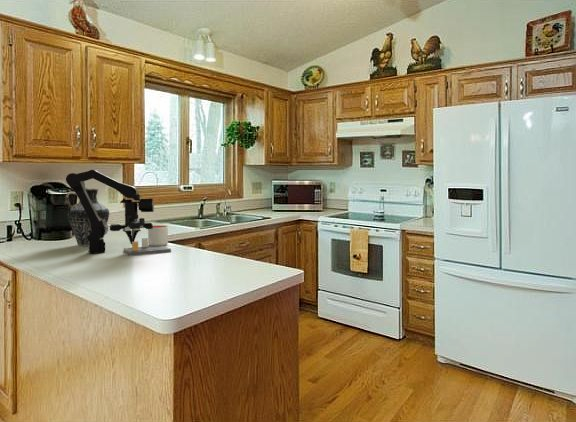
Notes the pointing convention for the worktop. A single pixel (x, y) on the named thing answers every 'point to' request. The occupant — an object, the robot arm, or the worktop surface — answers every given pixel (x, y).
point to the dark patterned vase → (84, 216)
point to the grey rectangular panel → (147, 250)
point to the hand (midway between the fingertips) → (132, 244)
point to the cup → (158, 235)
